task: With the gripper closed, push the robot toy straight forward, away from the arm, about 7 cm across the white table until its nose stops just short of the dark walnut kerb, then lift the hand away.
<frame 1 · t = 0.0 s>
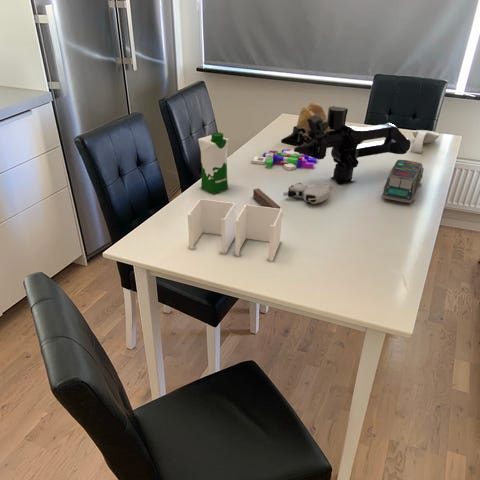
hand: (287, 145, 164), 17 cm above the table, tool horizontal, fingers open, 9 cm apart
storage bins: (235, 246, 143), on the table
rough brown rock: (314, 141, 218), on the table
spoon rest: (421, 145, 215), on the table
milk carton: (214, 189, 176), on the table
toy van: (401, 192, 175), on the table
walnut kerb: (265, 206, 164), on the table
robot toy: (307, 199, 170), on the table
building block set: (285, 160, 199), on the table
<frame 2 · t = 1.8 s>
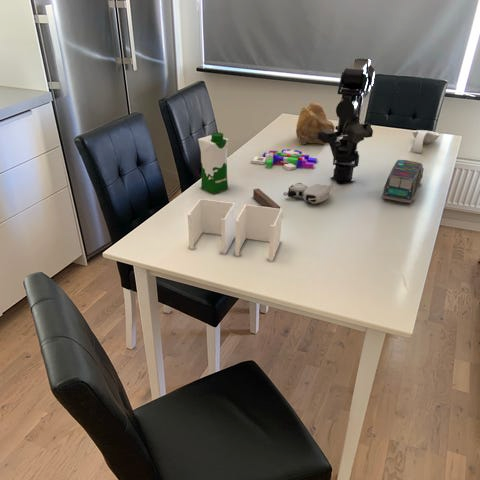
hand: (341, 158, 166), 13 cm above the table, tool pointing down, fingers open, 5 cm apart
nothing on the table moved.
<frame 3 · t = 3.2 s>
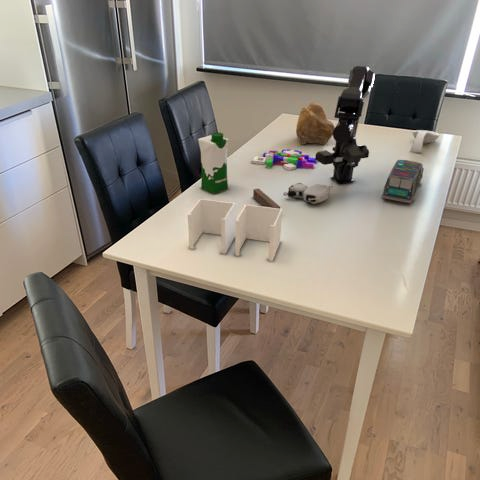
hand: (338, 178, 170), 5 cm above the table, tool pointing down, fingers closed
nothing on the table moved.
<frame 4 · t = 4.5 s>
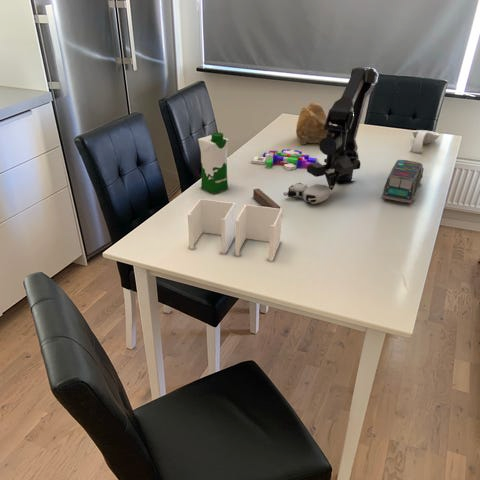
hand: (331, 189, 172), 2 cm above the table, tool pointing down, fingers closed
robot toy: (307, 199, 170), on the table, touching gripper
everything else where it was.
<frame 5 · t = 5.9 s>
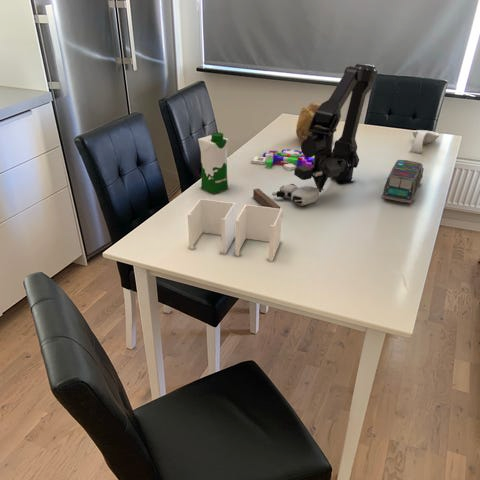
hand: (319, 192, 170), 2 cm above the table, tool pointing down, fingers closed
robot toy: (296, 200, 169), on the table, touching gripper
everything else where it was.
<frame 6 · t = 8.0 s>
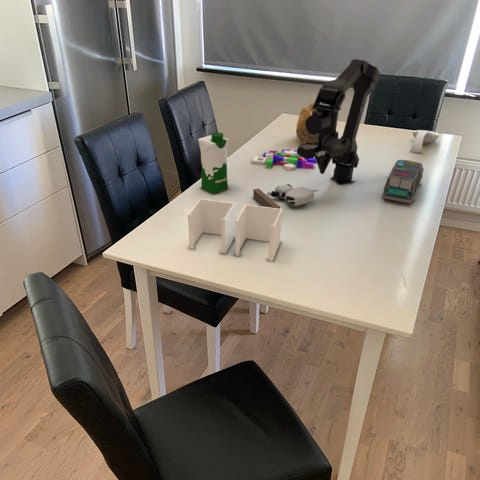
hand: (321, 173, 166), 8 cm above the table, tool pointing down, fingers closed
robot toy: (291, 201, 168), on the table
everything else where it was.
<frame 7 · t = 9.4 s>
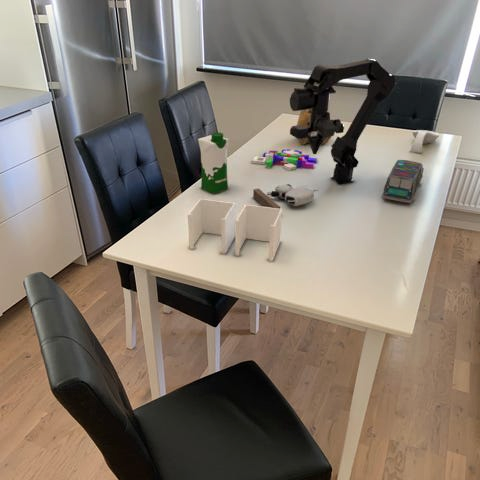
hand: (314, 154, 171), 12 cm above the table, tool pointing down, fingers closed
nothing on the table moved.
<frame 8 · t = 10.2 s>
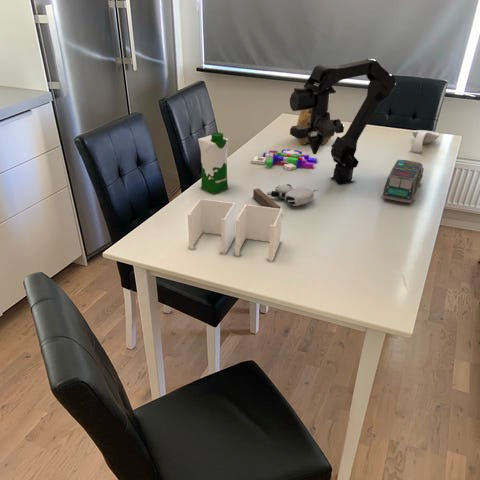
hand: (314, 154, 171), 12 cm above the table, tool pointing down, fingers closed
nothing on the table moved.
at the end: robot toy 1.6 cm from the target spot, on the table; robot toy moved 6.0 cm from its start; robot toy tilted 0° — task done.
